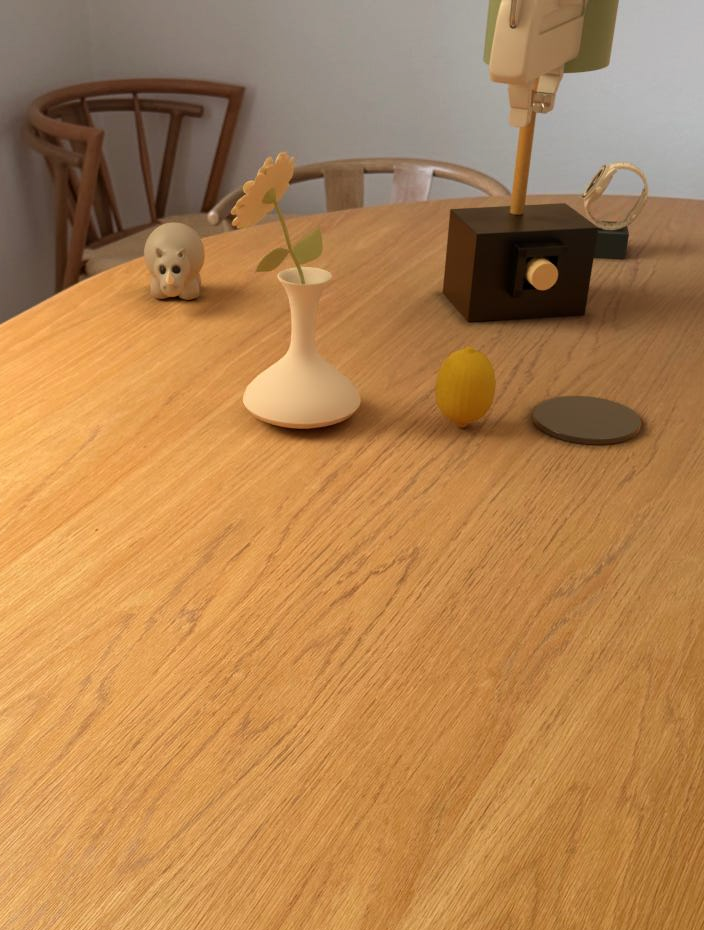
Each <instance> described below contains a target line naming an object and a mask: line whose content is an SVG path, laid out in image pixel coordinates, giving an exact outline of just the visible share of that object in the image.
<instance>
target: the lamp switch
mask: <svg viewBox="0 0 704 930" xmlns="http://www.w3.org/2000/svg"><path fill="white" fill-rule="evenodd" d="M524 276H525V278H526V280H527V281H528V282H530V283H531V284H532V285H533V286H534V287H535V288H536V289H538V290H547V289H549V288H551V287H552V286H553V285H554V284H555V282H556V281H557V278H558V271H557V268H556V267H555V266H554V265H553V264H552V263H551V262H550V261H548V260H547V259H546V258H544V257H535V258H533V259H531V260H530V261H529V262H528V263H527V264H526V267H525V274H524Z"/></svg>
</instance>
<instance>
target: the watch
mask: <svg viewBox="0 0 704 930" xmlns="http://www.w3.org/2000/svg"><path fill="white" fill-rule="evenodd" d="M619 170H627V171H631V172H633V173H635V174H636V175H637V176H638V177H639V178H640V179H641V180H642V182H643V184H644V186H643V187H644V188H642V190H641V194H640V195H639V197H638V199H637V201H636V203H635V204H634V206H633V207H632V208H631V209H630V210H629V212H628V213H627V214H626V215H625V217H624V218H623V219H622V220H619V221H611V220H610V221H609V220H608V221H607V220H599V219H597V218H596V217H595V216H594V215H593V214H592V212H591V210H590V208H591V205H592V204H593V203H595V202H596V201H597V200H598V199H599V198H600V197H601V196H602V194H604V192H605V190H606V189H607V188H608V186H609V185H610V183H611V181H612V179H613V177H614V175H615V174H616V173H617V172H618V171H619ZM581 199H582V200H583V201H584V202H583V203H584V204H583V205H584V212H585V214H586V217H587V219H588V220H589V221H590V222H592V223H593V224H594V225H596V226H597V227H598V234H597V240H596V247H595V253H594V258H597V259H600V258H601V259H614V260H615V259H618V260H625V259H626V255H627V249H628V242H629V238H630V233H629V232H630V231H629V227H628V226H631V225H632V224H633V222H634V221H635V220H636V219H637V218H638V217H639V215H641V213H642V211H643V210H644V208H645V206H646V204H647V203H648V199H649V185H648V182H647V177H646V176H645V174H644V172H643V171H642V170H641V168H639V167H638V166H637V165H635V164H633V163H630V162H625V161H616V162H612V163H610V164H609V165H608V164H607V163H606V164H603V165H602V166H601V167H600V168H599V169H598V171H597V172H596V173H595V174H594V175H593V177H592V178H591V179H590V181H589V183H588V184H587V186H586V187H585V188H584V190H583V193H582V196H581Z"/></svg>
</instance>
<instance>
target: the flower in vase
mask: <svg viewBox="0 0 704 930" xmlns="http://www.w3.org/2000/svg"><path fill="white" fill-rule="evenodd" d="M295 168H296V163H295V156H292V157H290V156H289V154H288V153H287V151H282V152H279V153H278V155H277V157H276V158H275V161H274V159H273V157H272V156H269V157H267V158H266V159H265V161H264V163H263V165H262V166H261V167H260V168H259V169H258V171H257V173H256V177H254V180H248V181H246V182H245V183H244V185H243V186H242V192H243V193H244V195H243V196H242V197H240V198H239V199H238V200H237V201H236V203H235V205H234V206H233V208H232V209H231V210H230V214H231V215H232V216H234V215H236V217H235V218H234V219H233V220H232V222H231V226H233V227H236V228H237V229H242V230H243V231H244V230H246V229H248V228H252V227H255V225H256V224H257V223H259V222H261V221H262V220H263V219H264V218H265V217H266V216H267V214H269V213H271V212H273V210H274V209H275V211H276V213H277V216H278V219H279V221H280V224H281V227H282V230H283V233H284V237H285V242H286V247H287V248H285V247H276V248H275V249H273V250H271V251H270V252H268V253H267V254H266V255H264V257H263V258H262V259H261V260H260V261H259V263H258V265H257V266H256V268H255V271H254V273H255V274H256V273H267V272H268V273H269V272H272V271H274V270H276V269H277V268H278V267H279V266H280V265H281V264H282V263H283V261H285V259H286V258H287V257H288V255H289V254H290V256H291V258H292V261H293V263H294V265H295V267H289V268H286V269H283V270H281V271H279V272H278V273H277V279H278V281H279V282H280V284H281V285H282V287H283V289H284V290H285V293H286V296H287V298H288V302H289V308H290V318H291V319H290V321H291V334H290V335H291V336H290V343H289V347H288V349H287V352H286V353H285V354H284V355H283V356H282V357H281V358H280V359H278V360H277V361H276V362H275V363H273V364H271V366H269V367H267V368H266V369H265V370H263V371H262V372H261V373H259V374H258V375H257V376H256V377H254V378H253V379H252V381H251V382H250V383H249V384H248V385H247V386H246V388H245V391H244V393H243V397H242V402H243V405H244V406H245V408H246V409H247V411H248V413H249V414H251V416H253V417H254V418H256V419H257V420H259V421H261V422H264V423H267V424H269V425H273V426H278V427H281V428H288V429H289V428H290V429H300V430H301V429H302V430H303V429H305V430H306V429H307V430H309V429H316V428H317V429H318V428H322V427H328V426H333V425H336V424H339V423H342V422H343V421H346V420H347V419H349V418H350V417H352V416H353V415H354V414H355V413H356V411H357V410H358V409H359V407H360V405H361V400H362V399H361V396H360V393H359V390H358V388H357V387H356V385H355V384H354V383H353V382H352V381H351V379H350V378H348V376H346V375H345V374H343V373H342V372H341V370H339V369H338V368H336V367H335V366H333V365H332V364H331V363H329V362H328V361H327V360H326V359H324V358H323V356H321V354H320V353H319V351H318V349H317V348H318V347H317V343H316V325H317V323H316V322H317V315H318V308H319V304H320V300H321V297H322V296H323V292H324V291H325V289H326V287H327V286H328V285H329V283H330V282H331V281H332V279H333V274H332V272H330V271H328V270H326V269H323V268H319V267H315V266H314V267H313V266H301V265H306V264H308V263H310V262H313V261H314V260H317V259H318V258H320V257H321V256H322V253H323V236H322V231H321V228H320V227H318V228H316V229H315V230H313V231H312V232H311V233H308V235H306V236H305V237H303V238H301V239H300V240H299V241H297V242H296V243H295V244H294V245H293V246H292V244H291V239H290V236H289V235H290V234H289V231H288V227H287V225H286V222H285V219H284V215H283V214H282V211H281V209H280V205H279V202H280V201H281V199H282V198H283V196H284V195H285V193H286V192H287V191H288V189H289V187H290V183H289V182H290V181H291V179H292V178H293V176H294V170H295Z"/></svg>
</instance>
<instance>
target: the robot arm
mask: <svg viewBox="0 0 704 930" xmlns="http://www.w3.org/2000/svg"><path fill="white" fill-rule="evenodd" d="M587 2H588V0H502V1H501V3H500V7H499V11H498V16H497V21H496V26H495V32H494V38H493V44H492V50H491V56H490V63H489V65H488V71H489V78H490V81H491V82H492V83H497V84H506V85H507V93H508V101H509V115H508V125H509V126H510V127H513V128H519V129H520V128H523V127H525V126H526V125H528V124H529V123H530V122H531V115H532V109H533V111H534V112H536V114H549V112H552V111H553V109H555V103H556V96H557V92H558V90H559V87H560V84H561V82H562V80H561V78H562V76H563V77H564V74H563V72H564V66H565V63H566V62H568V61H570V60H572V59H574V58H576V57H577V55H578V53H579V50H580V43H581V35H582V28H583V21H584V15H585V11H584V13H583V14H582V7H583V5H584V9H585V8H586V4H587ZM581 14H582V15H581ZM538 77H540V79H539V84H538V88H537V92H536V93H535V94H534V100H533V101H534V103H533V106H531V92H532V90H533V88H534V83H535V79H536V78H538ZM562 79H563V78H562ZM560 81H561V82H560Z"/></svg>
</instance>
